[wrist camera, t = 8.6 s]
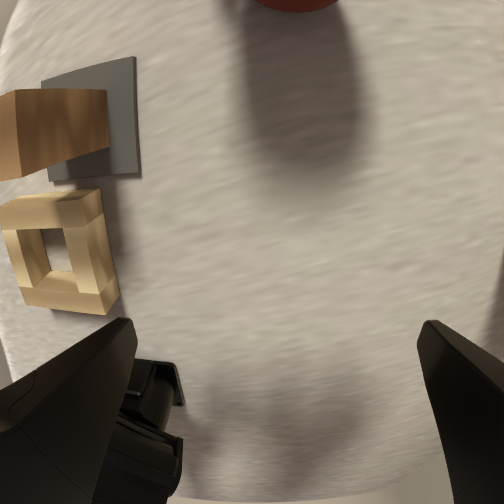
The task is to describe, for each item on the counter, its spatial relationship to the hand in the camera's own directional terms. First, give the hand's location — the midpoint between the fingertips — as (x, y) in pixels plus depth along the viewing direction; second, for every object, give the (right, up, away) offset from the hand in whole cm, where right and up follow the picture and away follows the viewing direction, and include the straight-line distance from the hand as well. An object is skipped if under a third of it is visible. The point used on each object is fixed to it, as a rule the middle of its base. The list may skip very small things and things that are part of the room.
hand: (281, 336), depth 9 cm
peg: (-12, +11, +9) cm, 19 cm away
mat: (-12, +12, +10) cm, 20 cm away
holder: (-16, +3, +14) cm, 22 cm away
